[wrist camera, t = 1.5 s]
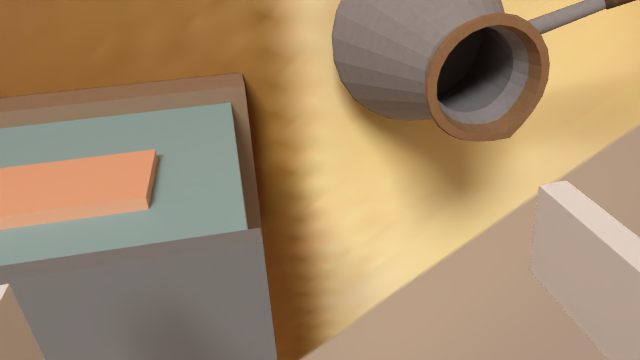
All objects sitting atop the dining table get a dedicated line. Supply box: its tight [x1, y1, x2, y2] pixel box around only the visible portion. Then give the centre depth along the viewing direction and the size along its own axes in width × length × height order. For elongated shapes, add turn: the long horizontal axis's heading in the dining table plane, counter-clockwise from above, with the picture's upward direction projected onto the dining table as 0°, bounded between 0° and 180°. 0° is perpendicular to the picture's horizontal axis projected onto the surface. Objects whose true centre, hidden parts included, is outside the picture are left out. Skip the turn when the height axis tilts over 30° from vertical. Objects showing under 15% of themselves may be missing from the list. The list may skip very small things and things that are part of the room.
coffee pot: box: [332, 0, 635, 141], centre depth 30 cm, size 21×12×15 cm, turn 117°
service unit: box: [0, 73, 277, 360], centre depth 29 cm, size 12×18×20 cm, turn 93°
